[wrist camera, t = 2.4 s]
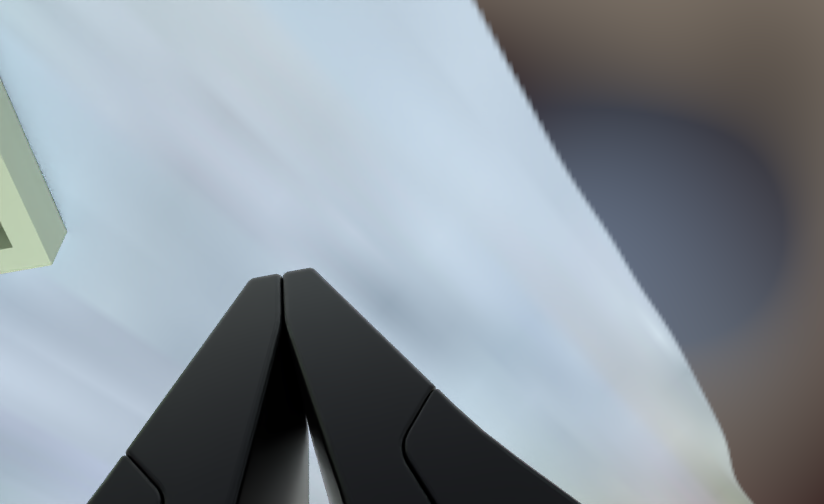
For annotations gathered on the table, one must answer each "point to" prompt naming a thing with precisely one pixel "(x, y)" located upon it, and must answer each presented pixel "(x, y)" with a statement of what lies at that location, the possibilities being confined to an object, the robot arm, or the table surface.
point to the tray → (24, 201)
